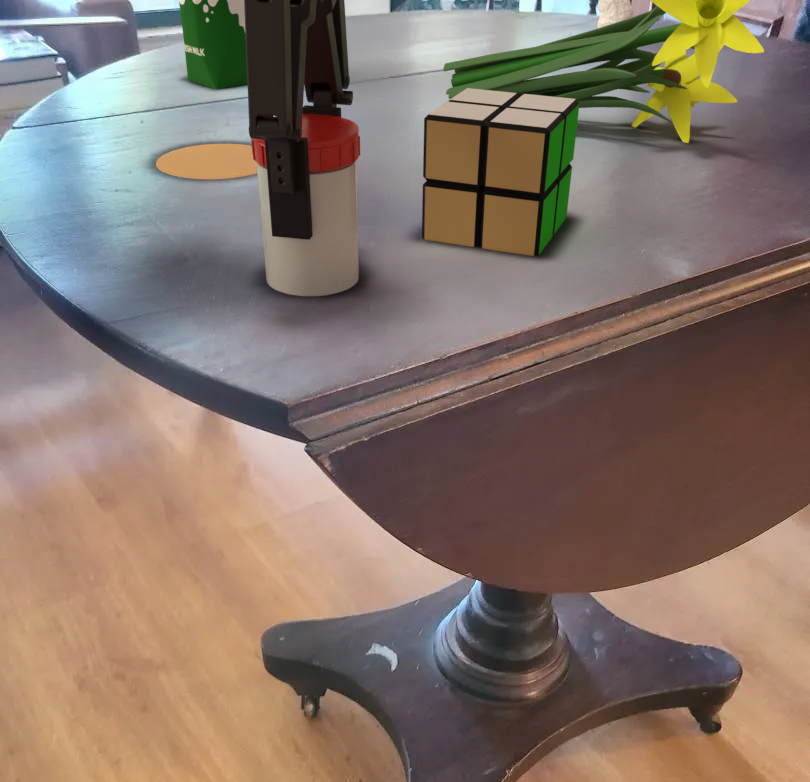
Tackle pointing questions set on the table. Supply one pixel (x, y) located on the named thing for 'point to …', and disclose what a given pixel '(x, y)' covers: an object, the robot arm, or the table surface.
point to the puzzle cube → (498, 170)
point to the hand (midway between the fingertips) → (309, 216)
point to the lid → (322, 142)
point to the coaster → (209, 161)
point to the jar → (316, 237)
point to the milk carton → (215, 42)
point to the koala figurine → (614, 11)
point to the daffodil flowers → (675, 83)
